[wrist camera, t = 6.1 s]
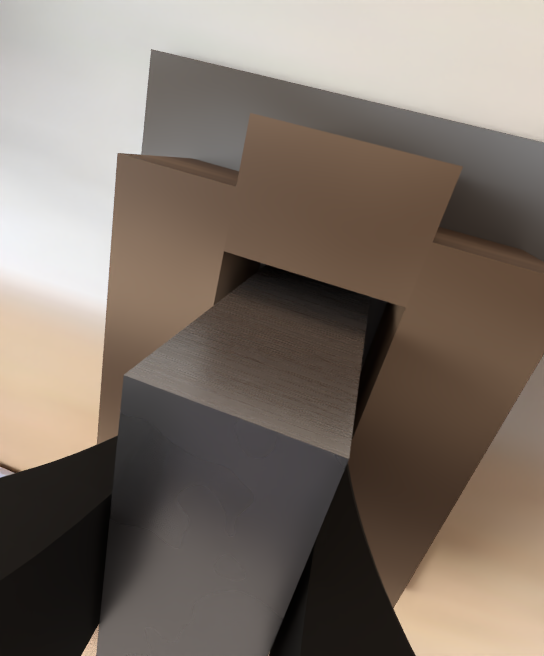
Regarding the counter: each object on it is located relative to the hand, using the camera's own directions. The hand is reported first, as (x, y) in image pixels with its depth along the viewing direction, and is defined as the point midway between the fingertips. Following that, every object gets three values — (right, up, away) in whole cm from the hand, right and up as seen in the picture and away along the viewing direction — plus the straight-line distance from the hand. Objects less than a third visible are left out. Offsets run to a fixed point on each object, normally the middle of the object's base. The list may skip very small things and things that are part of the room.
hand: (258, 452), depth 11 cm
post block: (+1, +2, +5) cm, 5 cm away
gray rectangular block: (+1, +1, +2) cm, 3 cm away
